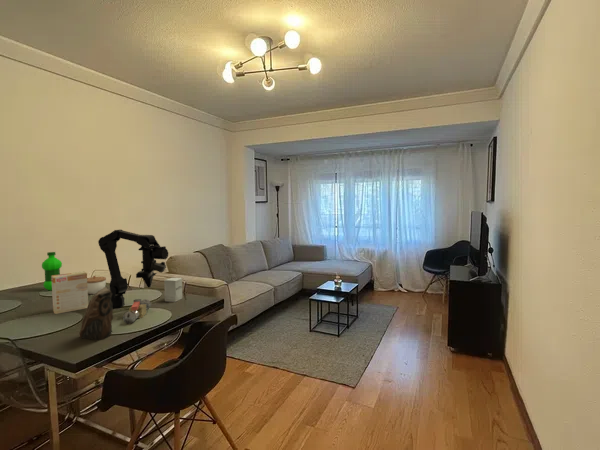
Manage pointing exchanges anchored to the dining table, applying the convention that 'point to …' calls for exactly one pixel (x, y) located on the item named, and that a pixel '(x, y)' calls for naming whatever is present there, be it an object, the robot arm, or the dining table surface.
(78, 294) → the coffeecake box
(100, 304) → the owl
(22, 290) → the dining table surface
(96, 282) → the lidded bowl
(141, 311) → the valve body
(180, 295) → the supplement box
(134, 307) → the lever
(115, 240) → the robot arm
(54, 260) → the plastic bottle
